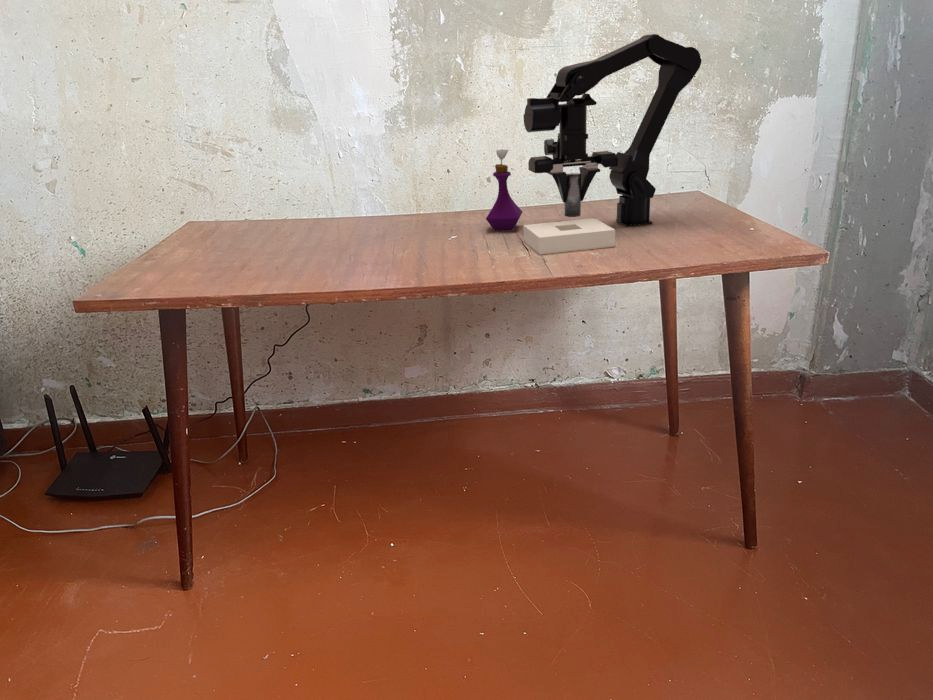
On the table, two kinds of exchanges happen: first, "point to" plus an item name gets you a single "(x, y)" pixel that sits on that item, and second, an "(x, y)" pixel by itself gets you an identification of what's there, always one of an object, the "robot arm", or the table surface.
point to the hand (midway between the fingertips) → (572, 201)
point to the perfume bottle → (503, 201)
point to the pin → (573, 195)
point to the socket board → (569, 236)
